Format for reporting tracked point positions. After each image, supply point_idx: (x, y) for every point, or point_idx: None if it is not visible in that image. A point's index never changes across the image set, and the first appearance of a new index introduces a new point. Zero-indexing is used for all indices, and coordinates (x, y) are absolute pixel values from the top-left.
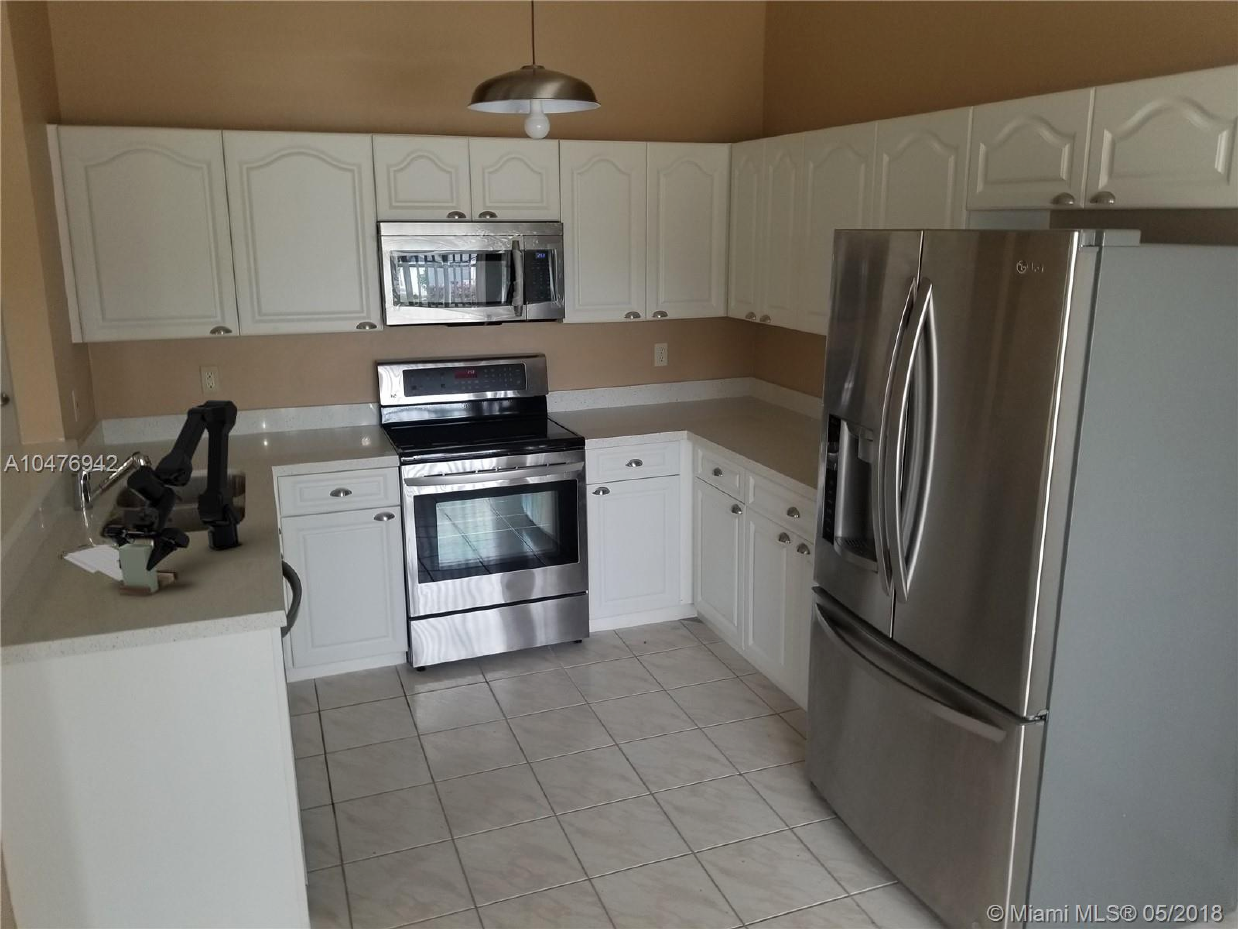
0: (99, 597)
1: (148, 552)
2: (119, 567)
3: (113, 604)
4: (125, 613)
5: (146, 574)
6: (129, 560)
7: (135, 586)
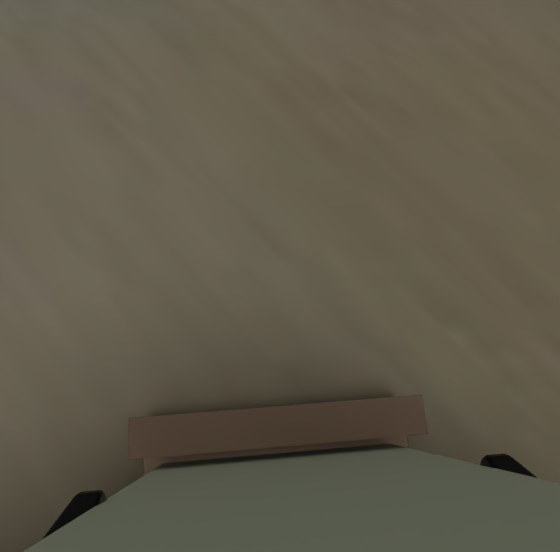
0: (541, 371)
1: None
2: (507, 457)
3: (344, 285)
4: (151, 176)
5: (134, 488)
6: (376, 498)
7: (282, 443)
